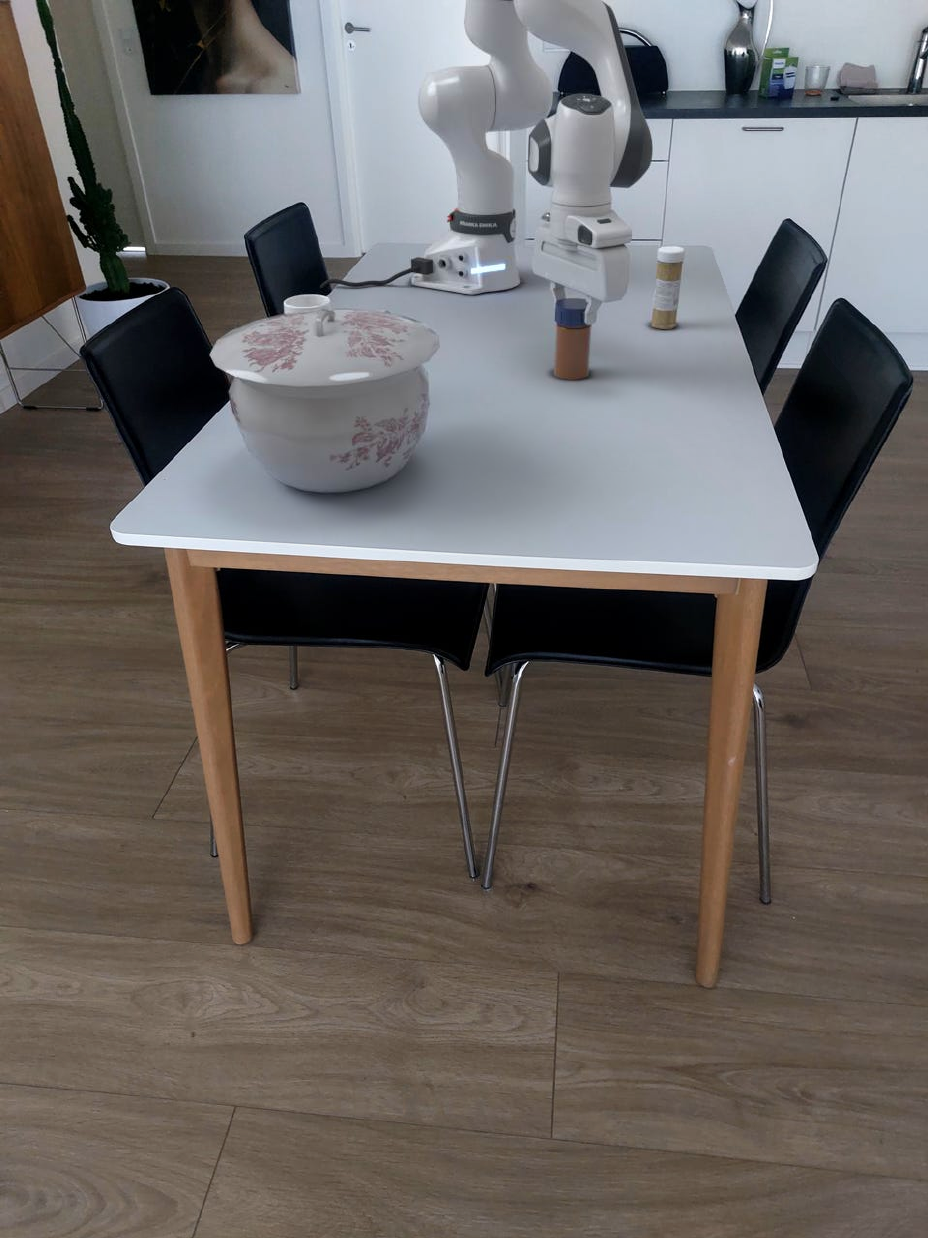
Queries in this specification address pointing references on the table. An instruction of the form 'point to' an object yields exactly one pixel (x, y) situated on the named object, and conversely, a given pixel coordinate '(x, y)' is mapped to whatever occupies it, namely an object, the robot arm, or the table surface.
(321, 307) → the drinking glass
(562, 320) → the lid
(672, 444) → the table surface
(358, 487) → the chamber pot
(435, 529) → the table surface
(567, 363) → the brown cylinder
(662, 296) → the sprinkles bottle
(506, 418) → the table surface
